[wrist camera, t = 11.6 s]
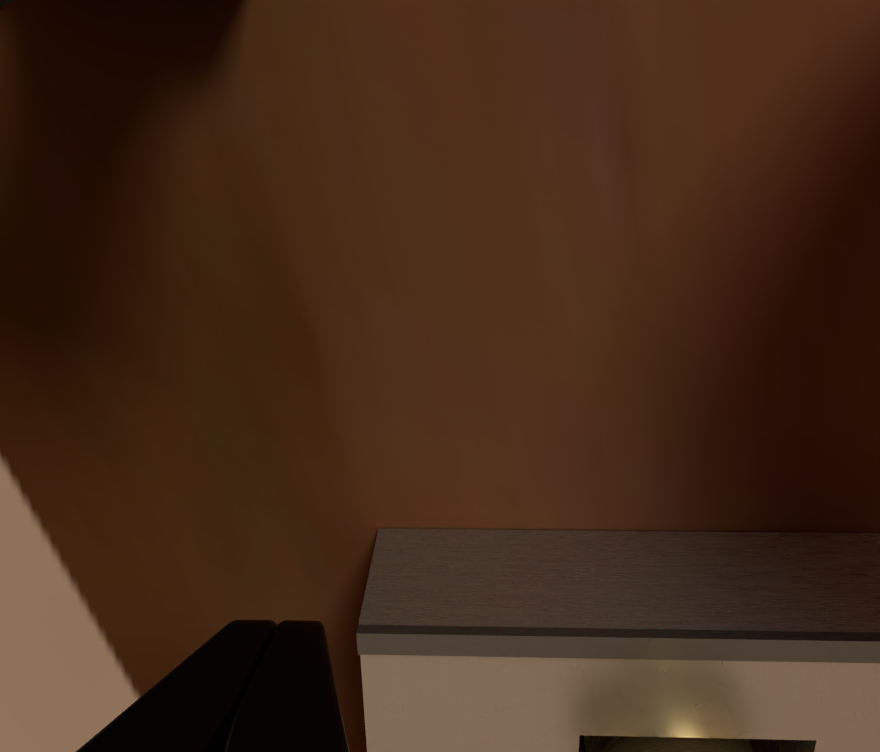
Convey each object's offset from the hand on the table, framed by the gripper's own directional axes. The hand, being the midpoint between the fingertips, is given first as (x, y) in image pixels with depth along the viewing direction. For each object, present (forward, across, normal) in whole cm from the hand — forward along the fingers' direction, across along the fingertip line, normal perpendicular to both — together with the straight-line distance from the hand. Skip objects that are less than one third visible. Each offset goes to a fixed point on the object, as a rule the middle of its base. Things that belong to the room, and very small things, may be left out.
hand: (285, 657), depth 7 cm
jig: (+13, -7, +13) cm, 20 cm away
